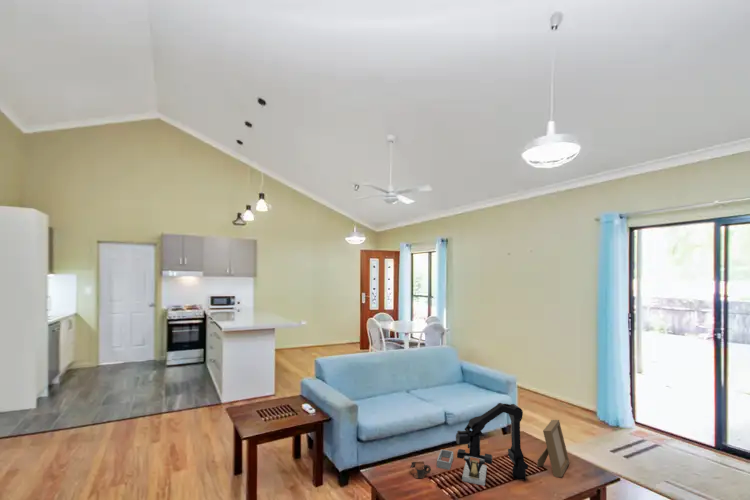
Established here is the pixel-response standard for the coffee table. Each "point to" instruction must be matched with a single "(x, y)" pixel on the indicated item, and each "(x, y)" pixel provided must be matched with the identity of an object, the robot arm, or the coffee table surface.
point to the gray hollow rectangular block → (443, 463)
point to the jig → (479, 480)
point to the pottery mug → (421, 469)
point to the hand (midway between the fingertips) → (474, 471)
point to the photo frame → (554, 449)
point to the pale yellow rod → (474, 468)
